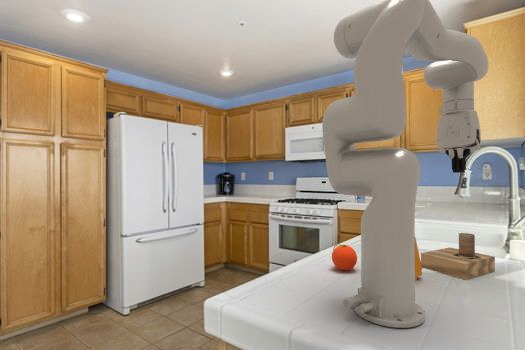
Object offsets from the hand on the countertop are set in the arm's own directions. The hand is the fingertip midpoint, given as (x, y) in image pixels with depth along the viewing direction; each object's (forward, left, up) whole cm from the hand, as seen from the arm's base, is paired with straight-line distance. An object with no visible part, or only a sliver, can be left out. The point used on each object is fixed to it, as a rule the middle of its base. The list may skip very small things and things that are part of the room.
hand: (458, 172), depth 85 cm
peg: (-2, -3, -27) cm, 27 cm away
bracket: (-24, +2, -27) cm, 36 cm away
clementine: (-31, +14, -27) cm, 44 cm away
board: (-3, -1, -27) cm, 27 cm away
